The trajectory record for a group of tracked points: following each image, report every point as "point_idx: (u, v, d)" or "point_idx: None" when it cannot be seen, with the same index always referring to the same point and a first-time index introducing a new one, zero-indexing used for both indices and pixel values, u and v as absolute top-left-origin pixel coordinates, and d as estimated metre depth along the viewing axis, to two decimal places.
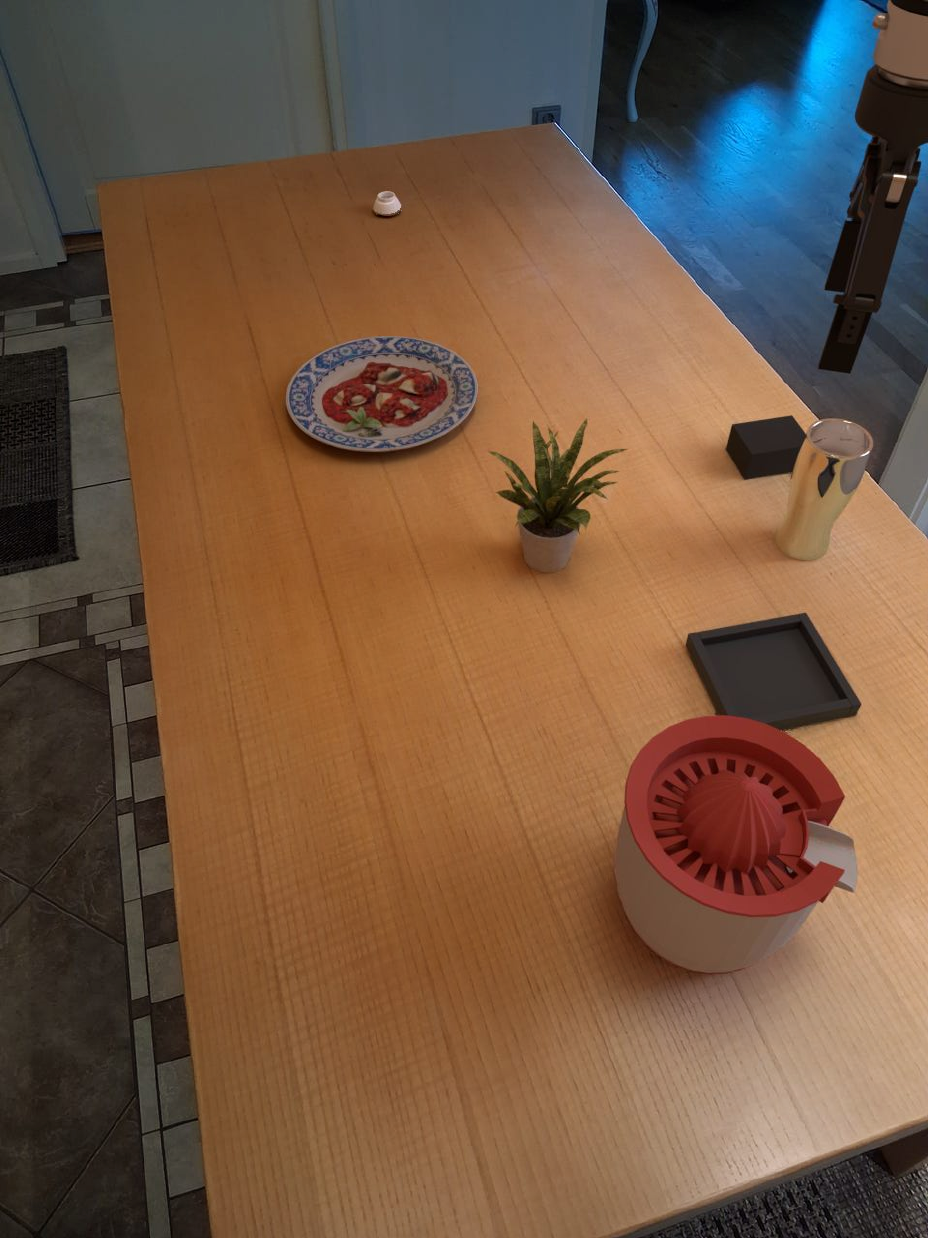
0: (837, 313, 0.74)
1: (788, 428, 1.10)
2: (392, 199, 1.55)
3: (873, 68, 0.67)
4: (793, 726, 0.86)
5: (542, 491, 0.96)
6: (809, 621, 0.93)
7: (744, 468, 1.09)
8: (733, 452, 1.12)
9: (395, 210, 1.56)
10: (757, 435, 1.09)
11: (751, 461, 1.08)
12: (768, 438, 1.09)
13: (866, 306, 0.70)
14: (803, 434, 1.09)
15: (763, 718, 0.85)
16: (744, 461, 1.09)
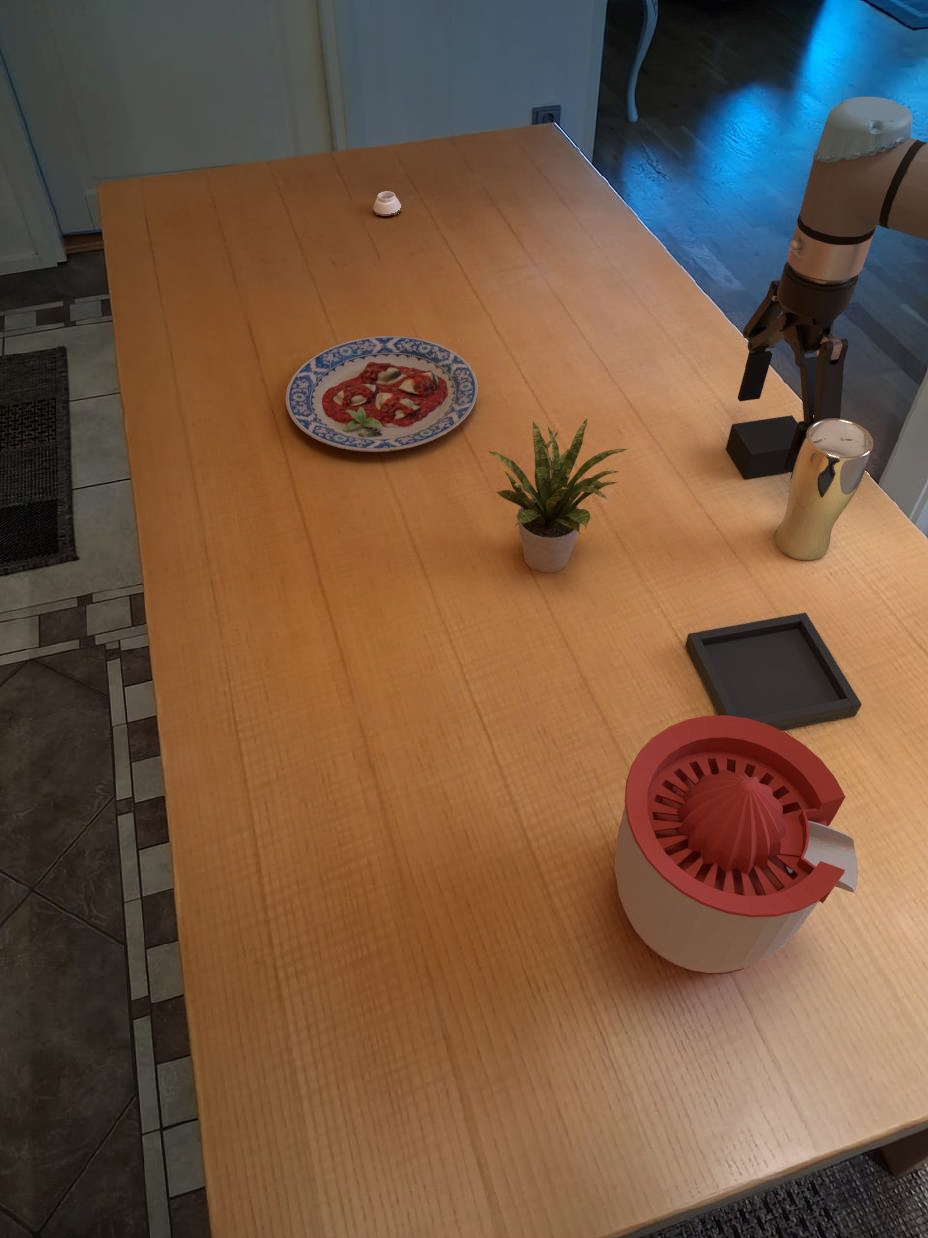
0: (799, 433, 1.00)
1: (788, 428, 1.10)
2: (392, 199, 1.55)
3: (789, 271, 0.93)
4: (793, 726, 0.86)
5: (542, 490, 0.96)
6: (809, 621, 0.93)
7: (744, 468, 1.09)
8: (733, 452, 1.12)
9: (395, 210, 1.56)
10: (757, 435, 1.09)
11: (751, 461, 1.08)
12: (768, 438, 1.09)
13: None
14: None
15: (763, 718, 0.85)
16: (744, 461, 1.09)
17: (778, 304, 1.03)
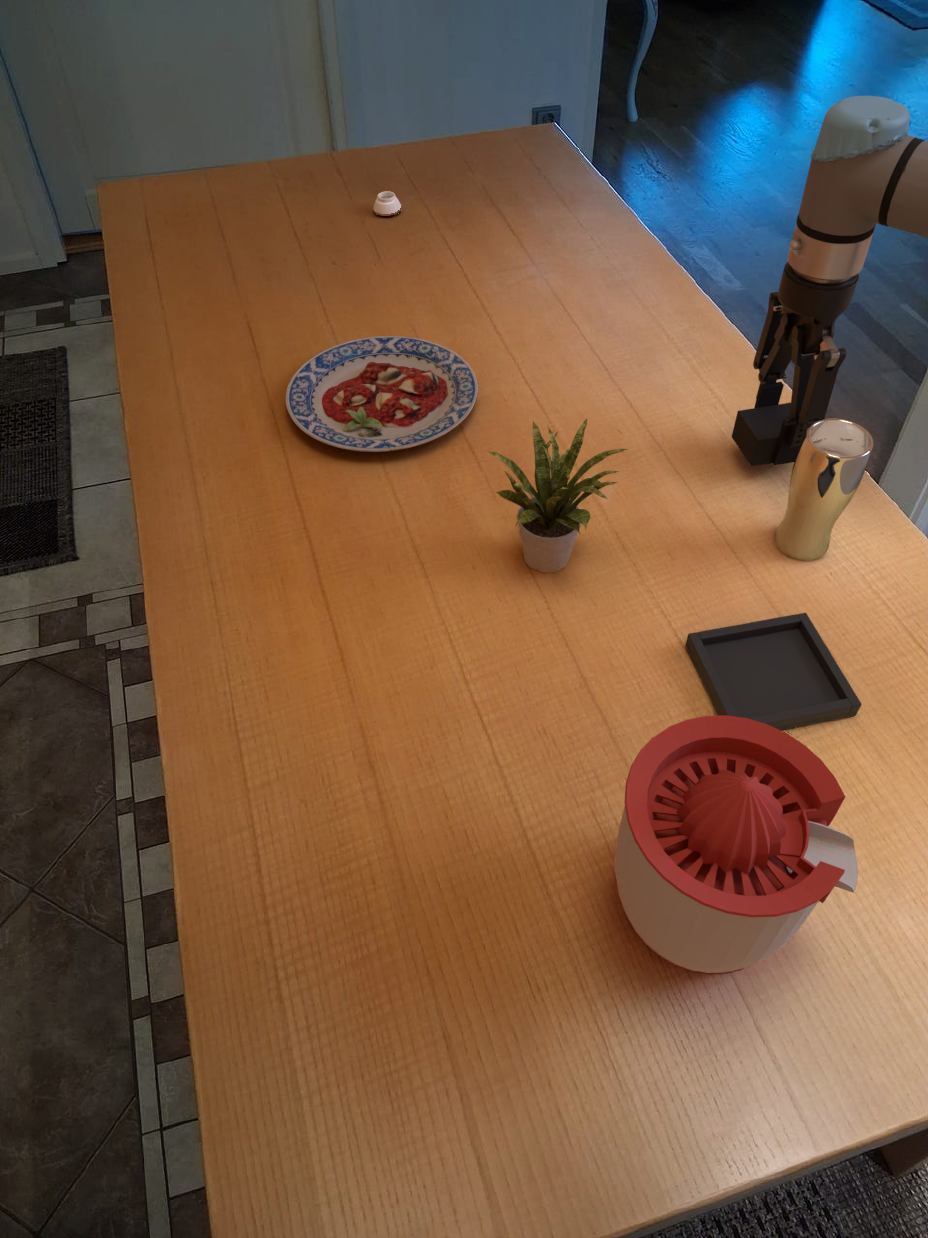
0: (785, 429, 1.04)
1: None
2: (392, 199, 1.55)
3: (790, 271, 0.93)
4: (793, 726, 0.86)
5: (542, 490, 0.96)
6: (809, 621, 0.93)
7: (751, 455, 1.08)
8: (739, 439, 1.10)
9: (395, 210, 1.56)
10: (764, 421, 1.08)
11: (758, 448, 1.06)
12: (775, 424, 1.07)
13: None
14: None
15: (763, 718, 0.85)
16: (750, 447, 1.07)
17: (781, 317, 1.03)
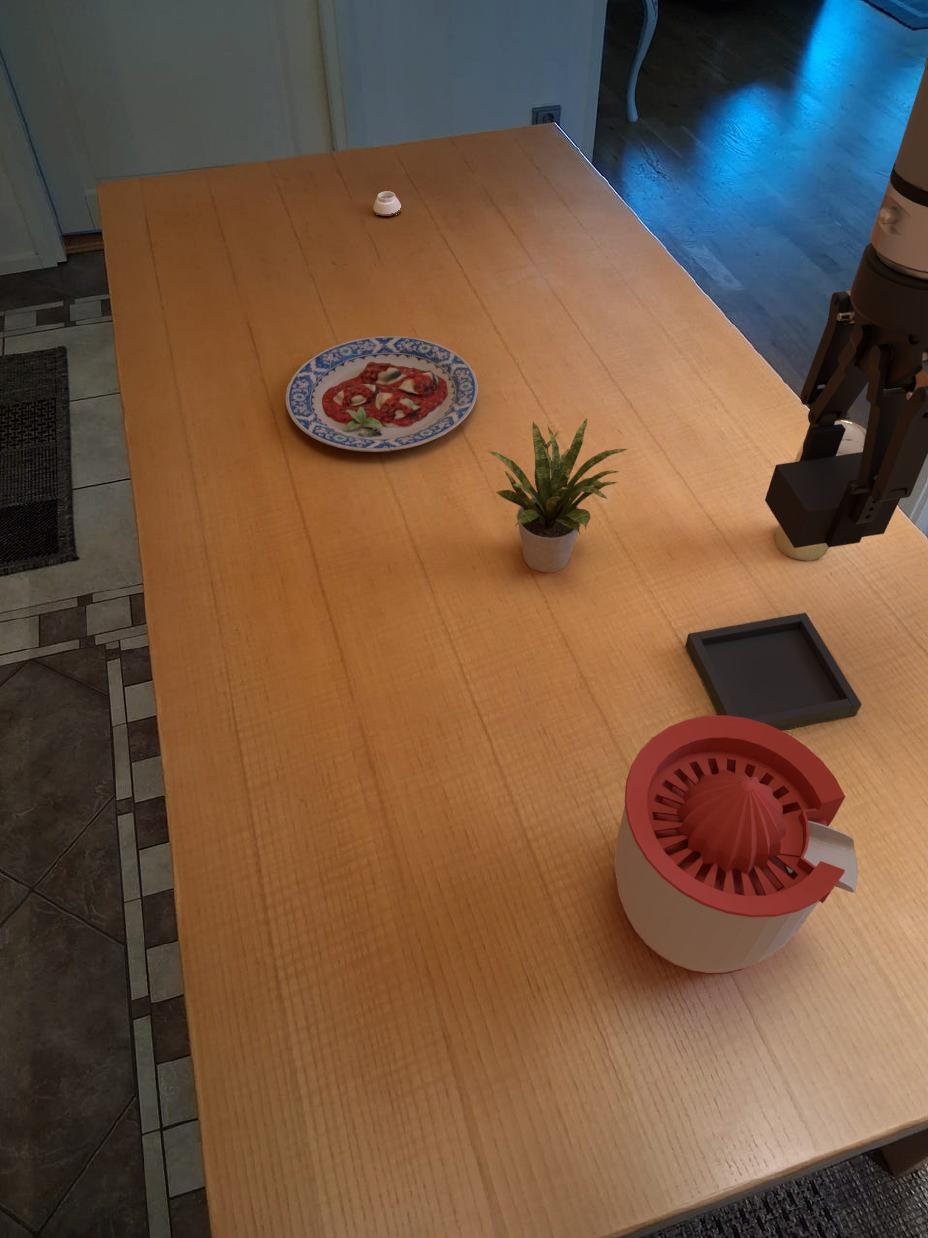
0: (850, 498, 0.69)
1: None
2: (392, 199, 1.55)
3: (874, 259, 0.58)
4: (793, 726, 0.86)
5: (542, 490, 0.96)
6: (809, 621, 0.93)
7: (795, 532, 0.73)
8: (777, 506, 0.75)
9: (395, 210, 1.56)
10: (815, 482, 0.73)
11: (806, 523, 0.72)
12: (831, 487, 0.73)
13: (898, 497, 0.66)
14: None
15: (763, 718, 0.85)
16: (795, 520, 0.73)
17: (848, 330, 0.68)
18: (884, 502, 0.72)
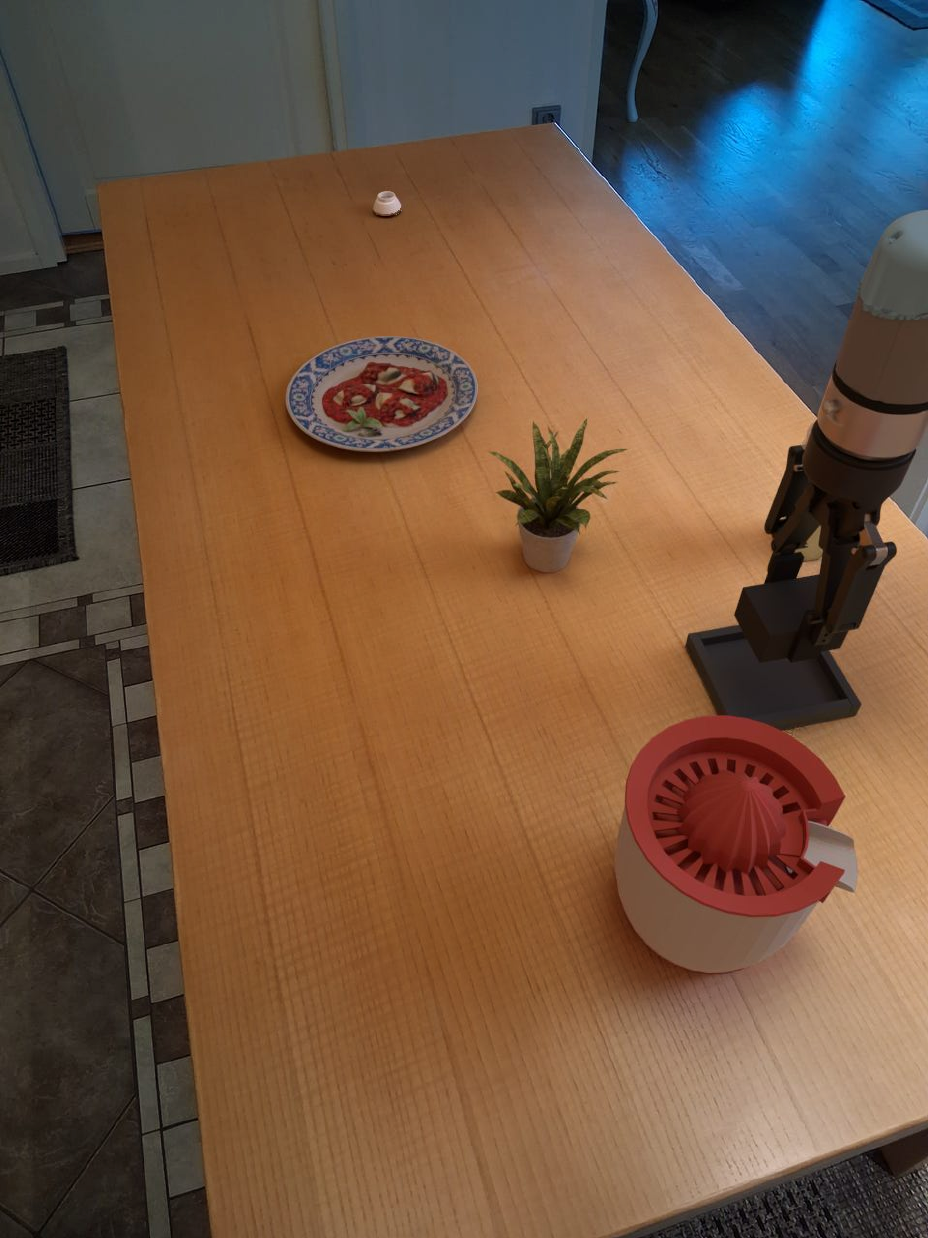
0: (807, 625, 0.78)
1: None
2: (392, 199, 1.55)
3: (820, 437, 0.67)
4: (793, 726, 0.86)
5: (542, 490, 0.96)
6: None
7: (760, 650, 0.82)
8: (744, 623, 0.84)
9: (395, 210, 1.56)
10: (777, 604, 0.82)
11: (770, 643, 0.80)
12: (792, 610, 0.81)
13: (848, 630, 0.74)
14: None
15: (763, 718, 0.85)
16: (759, 640, 0.81)
17: (804, 478, 0.77)
18: None
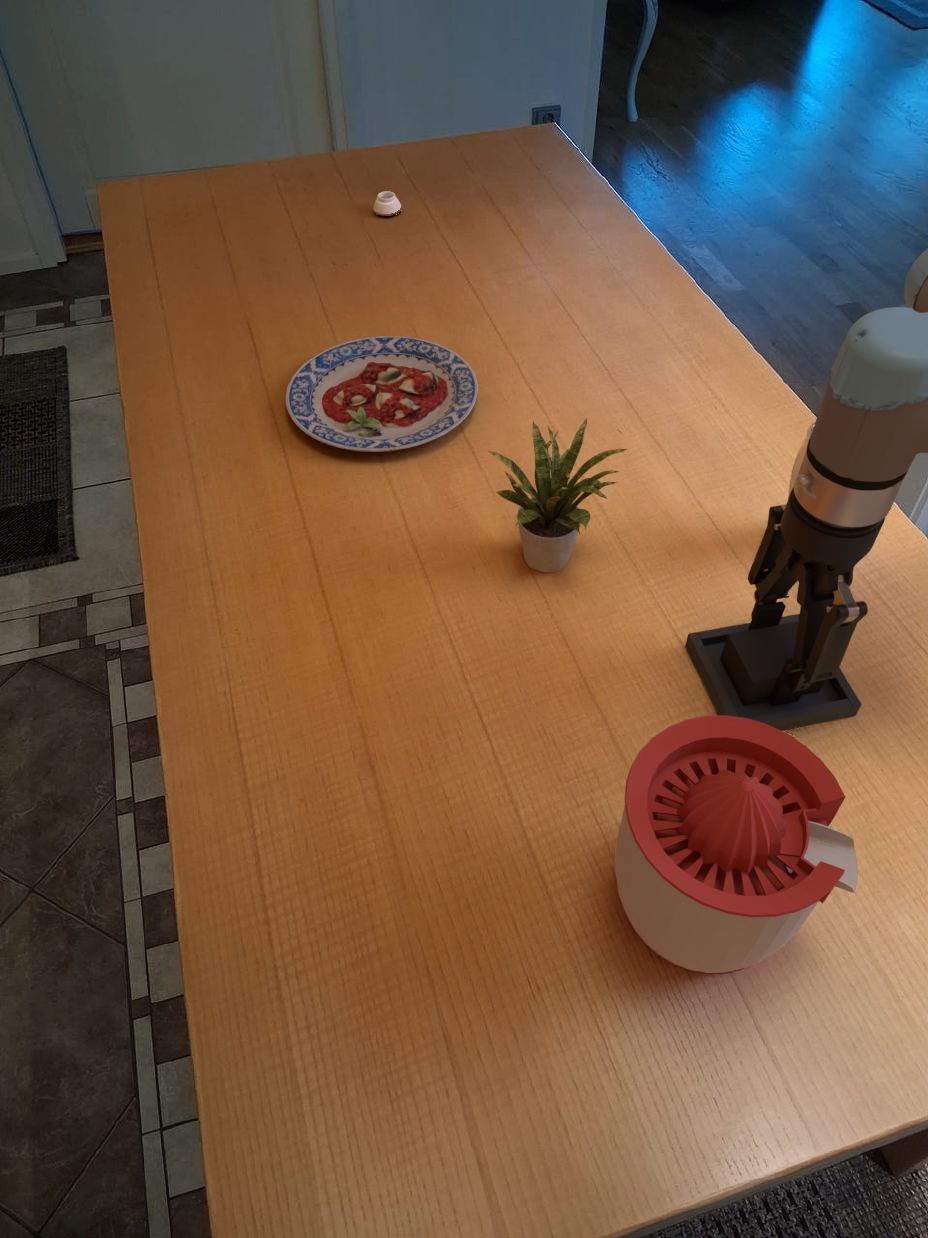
0: (787, 672, 0.83)
1: None
2: (392, 199, 1.55)
3: (797, 505, 0.72)
4: (793, 726, 0.86)
5: (542, 490, 0.96)
6: None
7: (744, 693, 0.87)
8: (730, 667, 0.89)
9: (395, 210, 1.56)
10: (760, 651, 0.87)
11: (752, 688, 0.85)
12: (773, 656, 0.86)
13: (825, 679, 0.80)
14: None
15: (763, 718, 0.85)
16: (743, 684, 0.87)
17: None
18: None
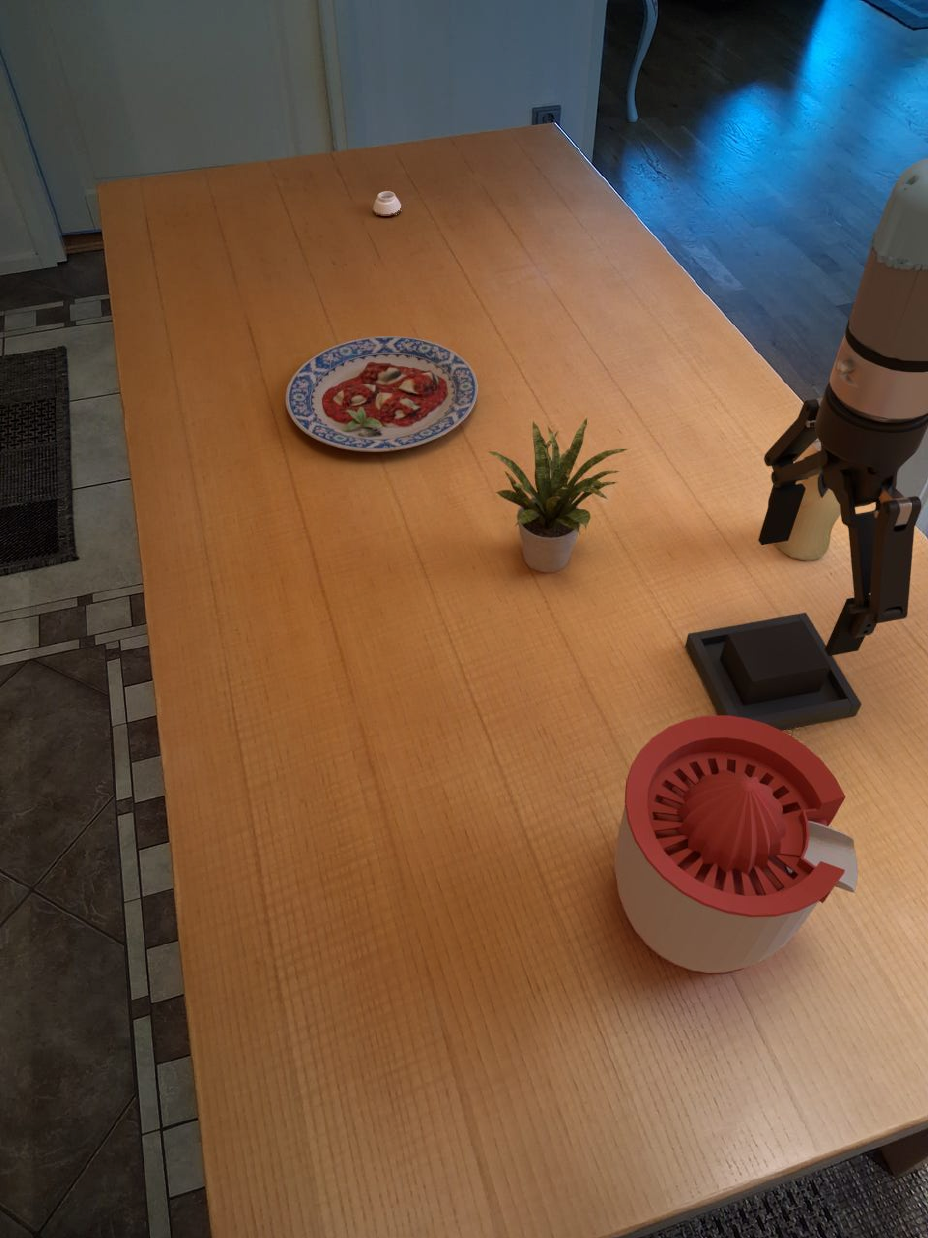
0: (848, 614, 0.72)
1: (798, 641, 0.87)
2: (392, 199, 1.55)
3: (833, 400, 0.64)
4: (793, 726, 0.86)
5: (542, 490, 0.96)
6: (809, 621, 0.93)
7: (743, 693, 0.87)
8: (729, 667, 0.89)
9: (395, 210, 1.56)
10: (760, 651, 0.87)
11: (752, 688, 0.85)
12: (773, 656, 0.86)
13: (895, 617, 0.68)
14: (817, 650, 0.87)
15: (763, 718, 0.85)
16: (743, 684, 0.87)
17: (814, 430, 0.74)
18: (817, 670, 0.85)
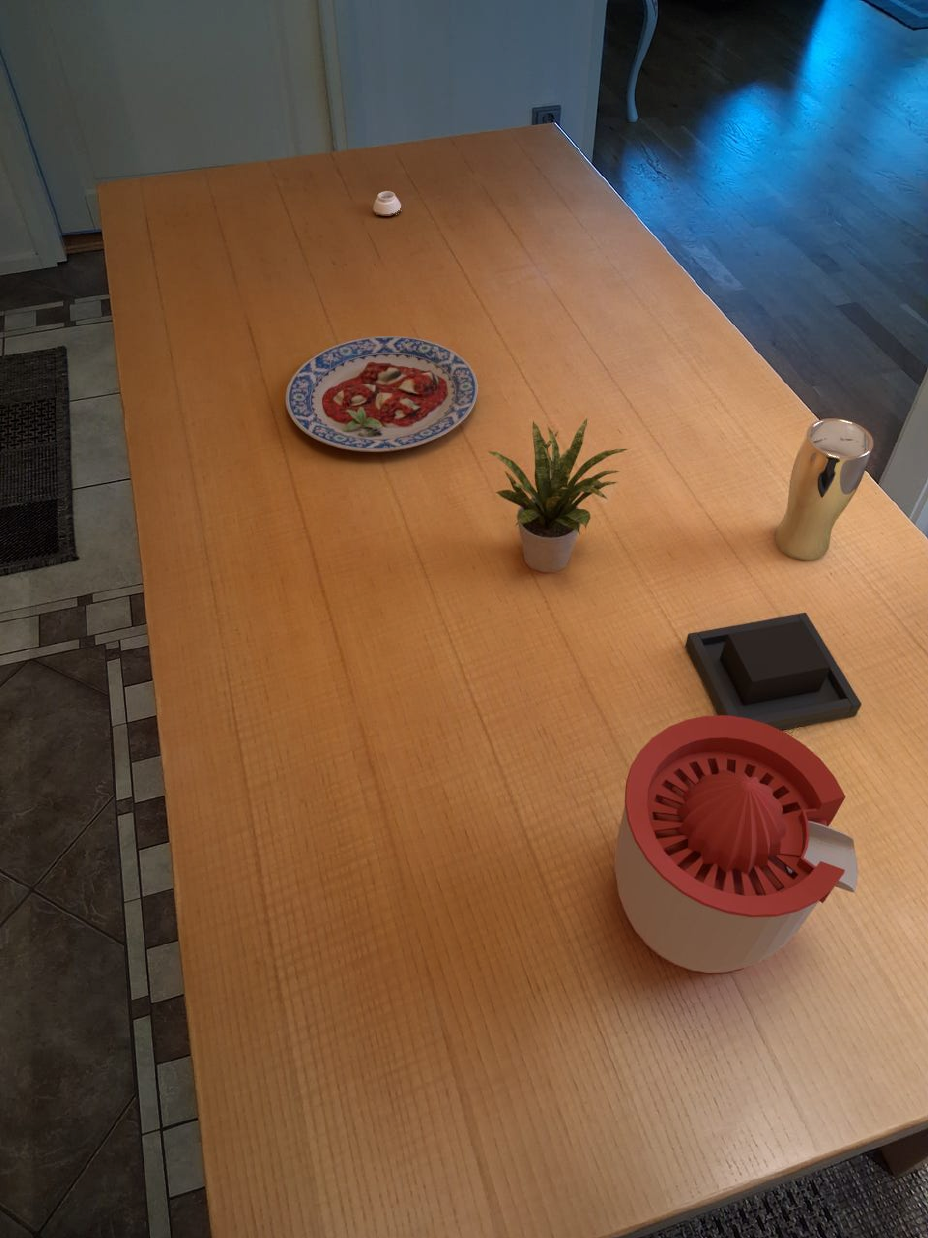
0: None
1: (798, 641, 0.87)
2: (392, 199, 1.55)
3: None
4: (793, 726, 0.86)
5: (542, 490, 0.96)
6: (809, 621, 0.93)
7: (743, 693, 0.87)
8: (729, 667, 0.89)
9: (395, 210, 1.56)
10: (760, 651, 0.87)
11: (752, 688, 0.85)
12: (773, 656, 0.86)
13: None
14: (817, 650, 0.87)
15: (763, 718, 0.85)
16: (743, 684, 0.87)
17: None
18: (817, 670, 0.85)
